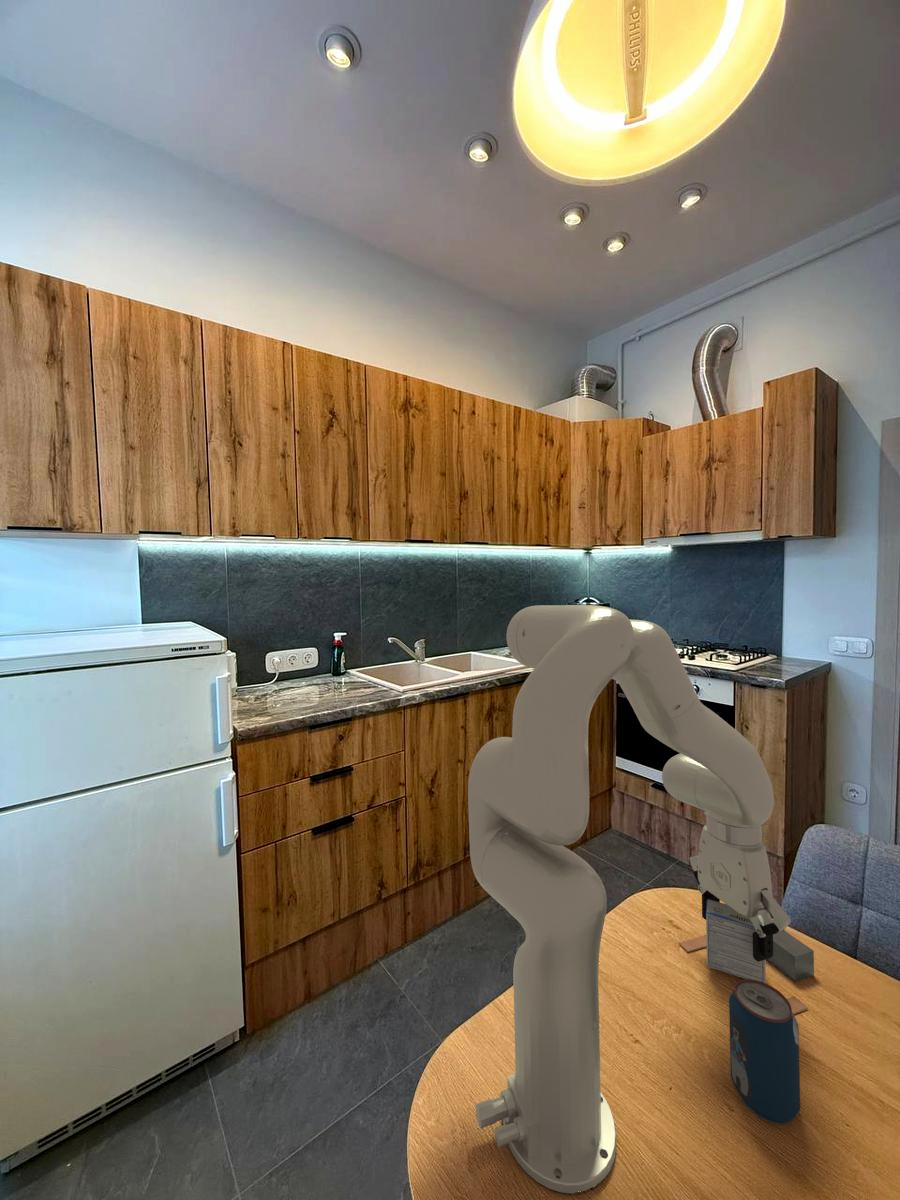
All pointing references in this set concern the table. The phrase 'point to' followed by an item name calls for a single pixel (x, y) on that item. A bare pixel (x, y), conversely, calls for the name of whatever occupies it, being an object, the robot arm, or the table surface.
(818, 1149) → the table surface
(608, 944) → the table surface
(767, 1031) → the soda can
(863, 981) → the table surface
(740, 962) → the medicine box
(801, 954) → the connector dock
